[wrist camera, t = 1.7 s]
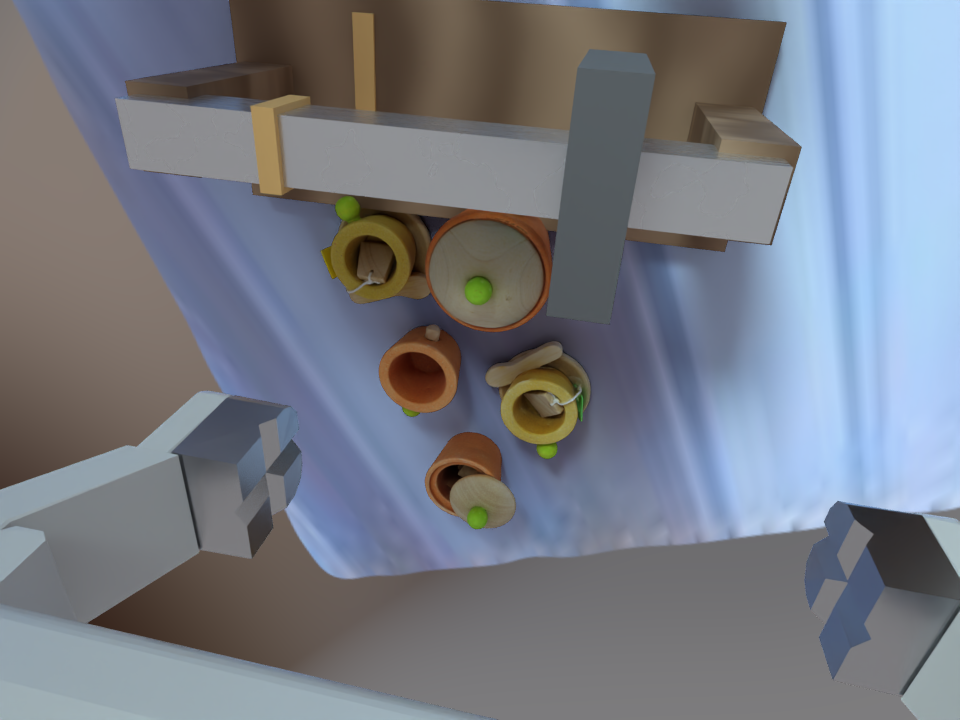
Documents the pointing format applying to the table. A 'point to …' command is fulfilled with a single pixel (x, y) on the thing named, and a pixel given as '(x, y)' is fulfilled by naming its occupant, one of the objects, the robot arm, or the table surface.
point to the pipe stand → (472, 112)
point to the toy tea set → (475, 304)
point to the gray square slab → (599, 182)
